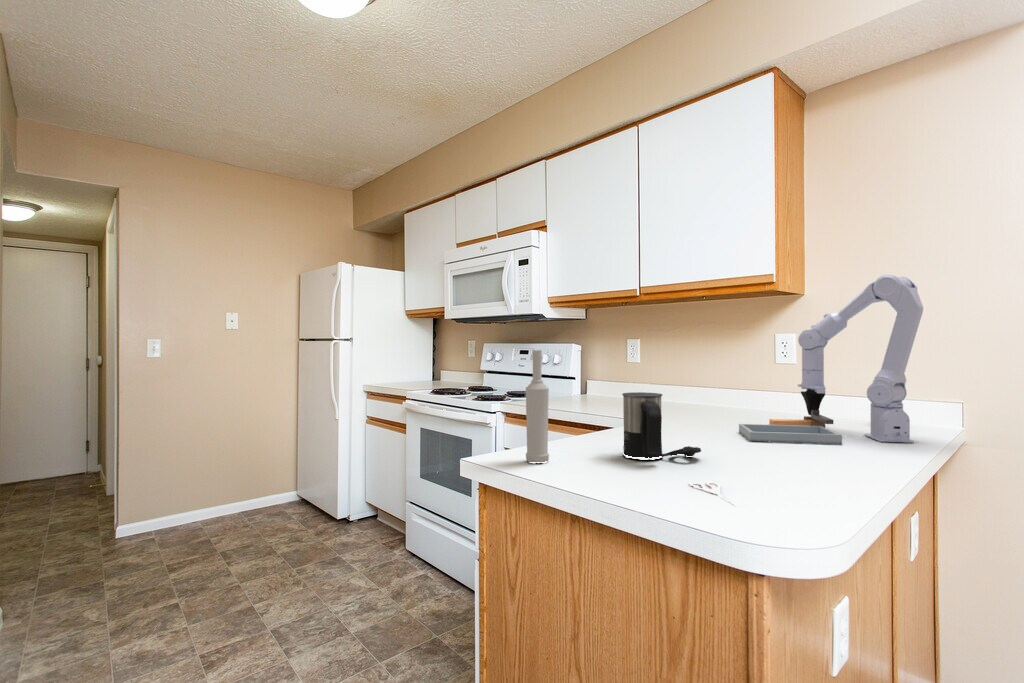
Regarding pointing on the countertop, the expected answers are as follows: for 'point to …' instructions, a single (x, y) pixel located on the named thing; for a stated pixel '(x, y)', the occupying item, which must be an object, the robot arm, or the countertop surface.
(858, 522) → the countertop surface
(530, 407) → the bottle
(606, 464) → the countertop surface
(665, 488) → the countertop surface
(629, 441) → the milk frother
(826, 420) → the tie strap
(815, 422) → the clamp posts
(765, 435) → the parts tray
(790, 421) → the orange-brown bar
